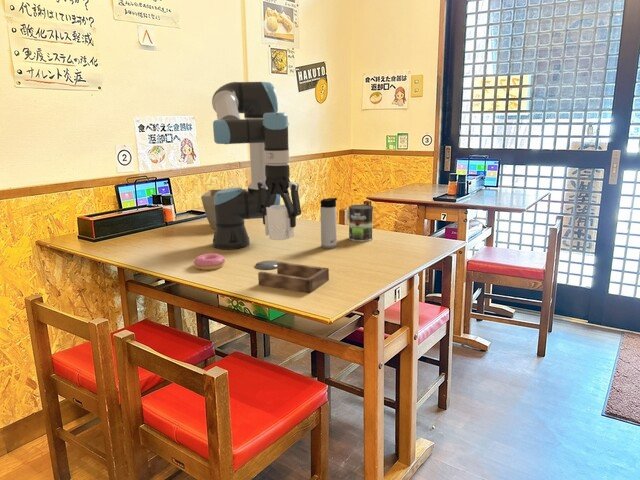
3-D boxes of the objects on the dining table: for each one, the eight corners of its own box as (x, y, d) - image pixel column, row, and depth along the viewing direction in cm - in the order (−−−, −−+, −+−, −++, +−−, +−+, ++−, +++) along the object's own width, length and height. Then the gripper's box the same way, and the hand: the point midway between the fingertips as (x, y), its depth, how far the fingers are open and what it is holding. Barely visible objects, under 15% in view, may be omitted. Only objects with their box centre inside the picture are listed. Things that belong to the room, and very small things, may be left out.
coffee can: (369, 242, 205) (369, 209, 201) (345, 240, 209) (345, 208, 205) (375, 237, 214) (376, 205, 210) (353, 235, 218) (353, 203, 214)
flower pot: (243, 230, 230) (241, 195, 226) (203, 231, 230) (200, 195, 226) (249, 222, 248) (247, 188, 244) (212, 222, 249) (209, 189, 245)
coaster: (250, 267, 174) (250, 266, 174) (264, 261, 182) (264, 259, 181) (272, 270, 170) (272, 269, 170) (285, 263, 178) (285, 262, 177)
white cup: (267, 235, 161) (266, 205, 159) (291, 234, 162) (290, 204, 159) (267, 241, 154) (265, 210, 151) (292, 240, 154) (291, 209, 152)
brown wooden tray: (258, 284, 156) (258, 272, 155) (279, 273, 167) (279, 261, 166) (310, 293, 148) (310, 280, 147) (328, 280, 159) (328, 268, 158)
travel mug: (336, 249, 196) (335, 199, 191) (319, 248, 197) (318, 199, 192) (338, 245, 202) (338, 196, 197) (322, 244, 203) (322, 196, 198)
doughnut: (194, 273, 170) (194, 261, 169) (193, 264, 180) (192, 253, 179) (226, 269, 173) (226, 258, 172) (223, 261, 183) (223, 250, 182)
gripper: (242, 164, 153) (246, 235, 159) (300, 166, 144) (302, 241, 150) (256, 161, 159) (259, 230, 165) (312, 163, 151) (313, 236, 156)
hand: (279, 235), depth 158 cm, fingers closed on white cup, 7 cm apart
